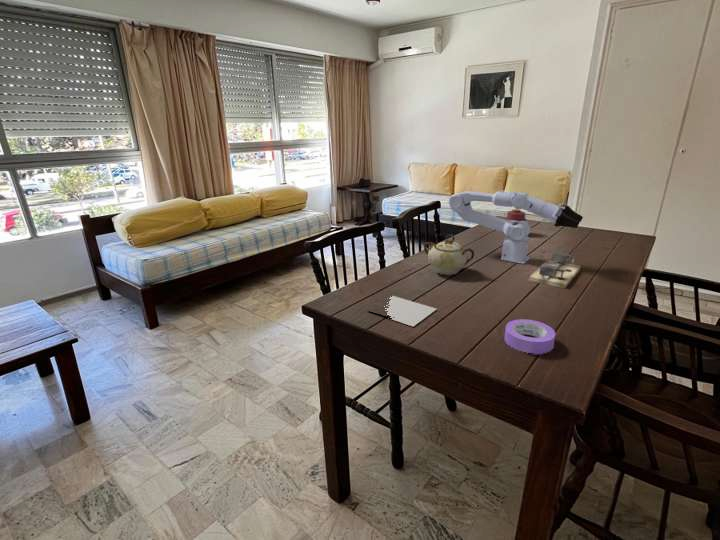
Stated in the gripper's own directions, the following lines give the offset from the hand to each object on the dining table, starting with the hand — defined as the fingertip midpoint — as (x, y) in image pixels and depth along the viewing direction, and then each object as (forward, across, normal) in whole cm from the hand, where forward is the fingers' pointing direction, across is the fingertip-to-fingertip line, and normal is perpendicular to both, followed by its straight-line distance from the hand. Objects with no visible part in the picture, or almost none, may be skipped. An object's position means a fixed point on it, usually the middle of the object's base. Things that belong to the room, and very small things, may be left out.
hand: (580, 222), depth 140 cm
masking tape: (+4, -66, +13) cm, 67 cm away
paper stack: (-27, -64, +22) cm, 73 cm away
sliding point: (+2, -3, +16) cm, 16 cm away
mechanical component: (-26, +39, +30) cm, 55 cm away
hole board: (+1, -12, +18) cm, 21 cm away
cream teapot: (-33, -30, +26) cm, 52 cm away
